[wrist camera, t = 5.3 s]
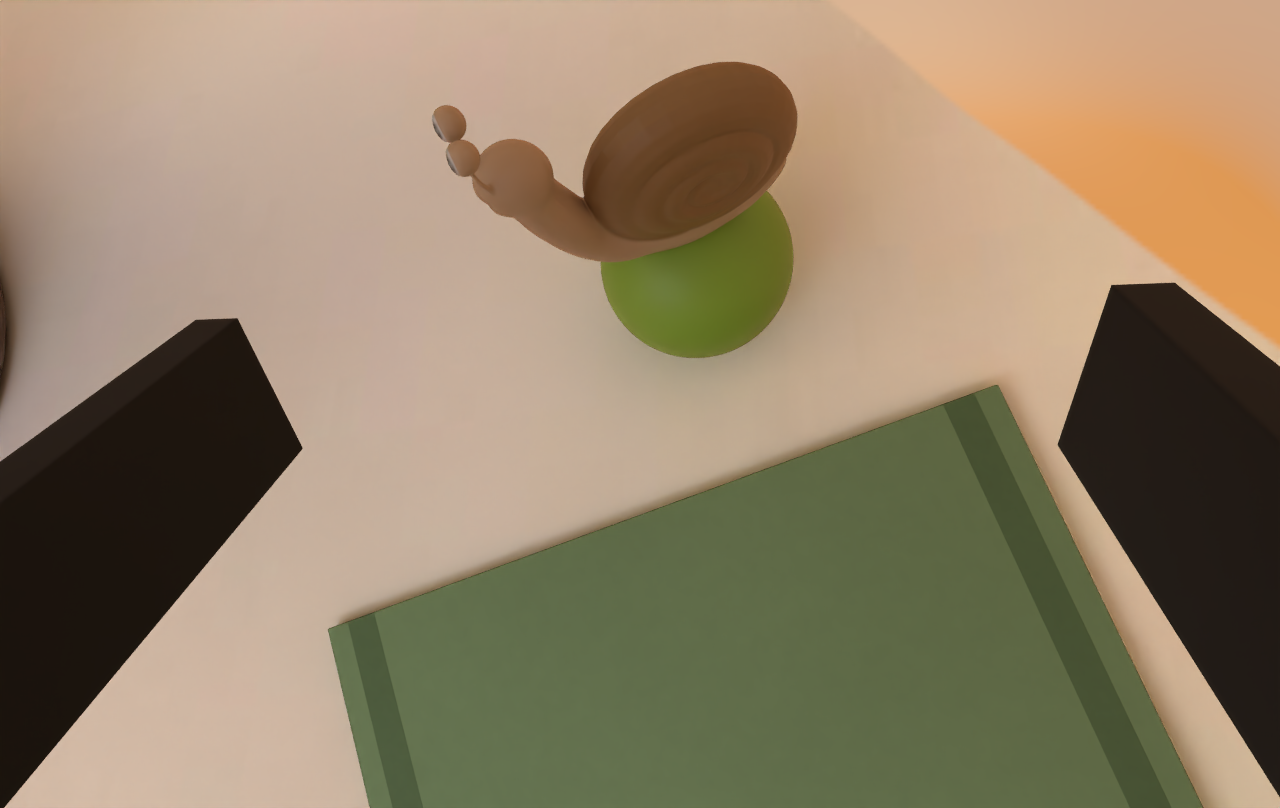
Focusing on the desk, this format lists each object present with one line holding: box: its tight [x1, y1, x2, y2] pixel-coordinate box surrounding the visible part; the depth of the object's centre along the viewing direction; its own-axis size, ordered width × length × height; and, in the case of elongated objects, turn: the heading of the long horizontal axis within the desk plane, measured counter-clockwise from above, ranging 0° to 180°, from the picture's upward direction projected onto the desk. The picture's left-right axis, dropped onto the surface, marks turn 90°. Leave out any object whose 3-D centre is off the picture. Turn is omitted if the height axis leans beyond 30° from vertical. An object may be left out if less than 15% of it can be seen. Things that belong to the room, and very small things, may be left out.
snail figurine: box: [432, 62, 797, 358], centre depth 16 cm, size 5×6×12 cm
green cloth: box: [328, 385, 1203, 808], centre depth 19 cm, size 16×22×1 cm
